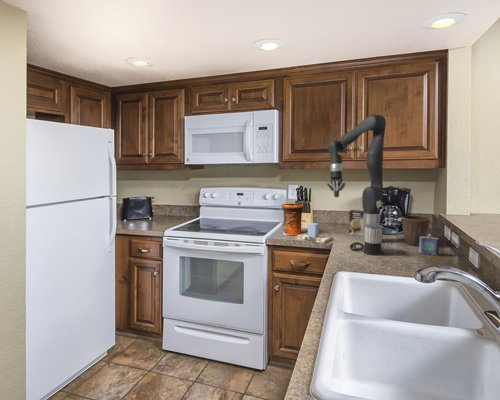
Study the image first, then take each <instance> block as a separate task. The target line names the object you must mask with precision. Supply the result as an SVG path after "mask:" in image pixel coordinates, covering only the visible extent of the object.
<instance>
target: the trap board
mask: <svg viewBox="0 0 500 400" xmlns="http://www.w3.org/2000/svg"><path fill="white" fill-rule="evenodd" d="M297 240H302V241H310V242H316V243H321V244H325V243H328V242H331V241H333V240H334V237H333V236H332V235H330V236H328V237H325V235H324V234H319V237H316V238H313V237H308V232H305V233H302V234H301V235H297Z"/></svg>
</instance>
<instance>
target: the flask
mask: <svg viewBox="0 0 500 400" xmlns="http://www.w3.org/2000/svg"><path fill="white" fill-rule="evenodd" d="M439 250H440V239H439V237H435V236H432V234H431V233H428V234H427V236H425V237H420V242H419V246H418V253H419V254H420V253H422V254H421V255H426V254H431V255H430V256H433V255H438V256H439Z"/></svg>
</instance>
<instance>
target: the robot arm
mask: <svg viewBox="0 0 500 400" xmlns="http://www.w3.org/2000/svg"><path fill="white" fill-rule="evenodd" d="M386 123H387V121H386V118H385V117H384V116H383V115H380V114H373V113H372V114H370V115H368V116H366V117H365V118H364V119H363V120H362V121H361V122H360V123H358V125H356V126H355V127H353V129H351V130H349V131H348V132H346V133H345V134H343V135H342V136H340V138H339V140H335V139H332V140H330V141H329V143H328V145H327V149H328V150H327V151H328V153H329V157H330V180H329V182H328V183H327V184H326V185H327V187H328V188H329V189H330V190H331V192H333V197H334V198H339V197H340V191H342V190H343V189H344V188H345V187H346V185H347V183H346V181H345V182H344V180H343V163H342V162H343V161H342V160H343V159H342V158H343V157H342V155H340V154H339V152H342V151H344V150H345V149H346V148H347V147H348V146H349V145H351V144H352V143H354V142H355V141H357V140H358V139H359V137H360V136H361V135H363V134H365V133H367V132H369V131H370V132H371V131H372V139H371V140H372V141H371V143H370V144H369V146H368V147H369V148H368V149H367V151H366V168H367V170H368V173H369V175H370V186H367V187H365V188H364V189H363V191H362V196H361V197H362V199H361V200H362V201H361V202H362V205H361V206H362V209H363V210H362V211H364V216H363V236H362V242H364V243H365V225H366V224H376V225H380V218H381V217H380V216H381V209H380V208H379V207H378V206H377V202H380V201H382V199H383V197H384V185H383V184H384V183H383V172H384V171H383V168H384V167H383V165H384V142H385V133H386Z"/></svg>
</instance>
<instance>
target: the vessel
mask: <svg viewBox="0 0 500 400" xmlns="http://www.w3.org/2000/svg"><path fill="white" fill-rule="evenodd" d="M281 208H282V212H283V224H284V226H283V227H284V231H283V232H282V233H283V235H288V236H298V235H301V234H303V233H302V218H303V216H302V214H303V210H304V204H301V203H296V202H295V203H283V204H281Z"/></svg>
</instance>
